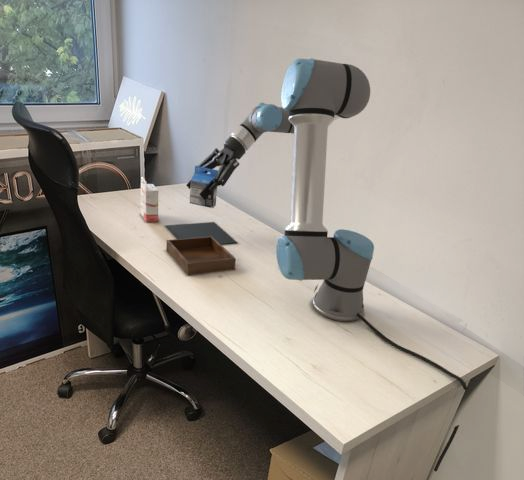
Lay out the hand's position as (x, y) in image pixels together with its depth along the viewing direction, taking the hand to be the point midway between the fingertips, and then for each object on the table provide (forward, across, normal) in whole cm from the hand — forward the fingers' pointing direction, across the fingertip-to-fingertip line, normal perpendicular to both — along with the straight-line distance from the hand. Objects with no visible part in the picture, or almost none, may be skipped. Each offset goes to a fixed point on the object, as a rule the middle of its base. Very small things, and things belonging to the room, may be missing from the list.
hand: (195, 192), depth 167 cm
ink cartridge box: (+17, +20, -6) cm, 27 cm away
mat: (+9, 0, -13) cm, 16 cm away
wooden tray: (+16, -19, -6) cm, 26 cm away
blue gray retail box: (+1, 0, -6) cm, 6 cm away
